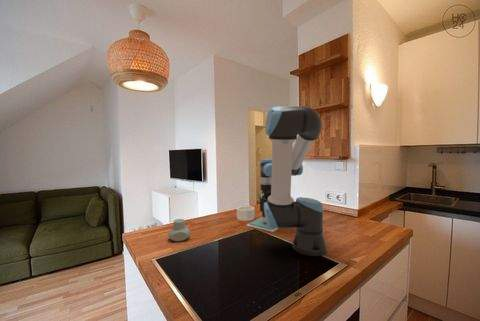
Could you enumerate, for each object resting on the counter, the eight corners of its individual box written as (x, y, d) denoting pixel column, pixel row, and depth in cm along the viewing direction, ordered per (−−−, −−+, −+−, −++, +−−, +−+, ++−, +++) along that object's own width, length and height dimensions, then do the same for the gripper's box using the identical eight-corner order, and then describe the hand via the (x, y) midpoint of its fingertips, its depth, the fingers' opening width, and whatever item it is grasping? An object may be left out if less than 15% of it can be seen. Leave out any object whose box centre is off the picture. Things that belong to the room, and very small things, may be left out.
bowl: (247, 222, 138) (247, 211, 137) (233, 219, 145) (233, 208, 145) (257, 217, 147) (257, 207, 147) (244, 214, 155) (243, 205, 154)
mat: (272, 232, 120) (272, 231, 120) (245, 225, 132) (245, 224, 132) (287, 223, 135) (287, 222, 135) (262, 217, 147) (262, 217, 147)
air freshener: (168, 243, 108) (167, 224, 108) (169, 237, 116) (168, 219, 116) (190, 240, 111) (190, 221, 110) (190, 234, 119) (189, 217, 118)
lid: (271, 230, 122) (271, 214, 122) (249, 224, 132) (248, 210, 132) (284, 222, 135) (284, 208, 134) (262, 218, 145) (262, 204, 144)
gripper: (268, 181, 142) (269, 216, 143) (253, 185, 128) (253, 223, 129) (278, 182, 137) (279, 218, 138) (264, 186, 123) (264, 226, 124)
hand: (267, 220), depth 133 cm, fingers closed on lid, 5 cm apart
